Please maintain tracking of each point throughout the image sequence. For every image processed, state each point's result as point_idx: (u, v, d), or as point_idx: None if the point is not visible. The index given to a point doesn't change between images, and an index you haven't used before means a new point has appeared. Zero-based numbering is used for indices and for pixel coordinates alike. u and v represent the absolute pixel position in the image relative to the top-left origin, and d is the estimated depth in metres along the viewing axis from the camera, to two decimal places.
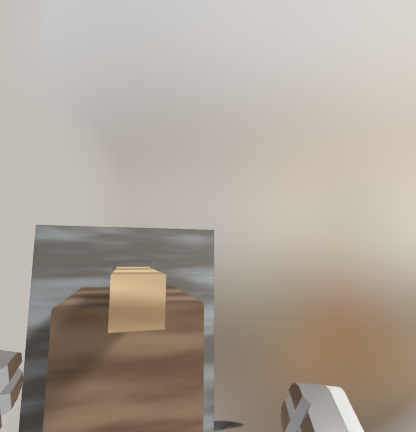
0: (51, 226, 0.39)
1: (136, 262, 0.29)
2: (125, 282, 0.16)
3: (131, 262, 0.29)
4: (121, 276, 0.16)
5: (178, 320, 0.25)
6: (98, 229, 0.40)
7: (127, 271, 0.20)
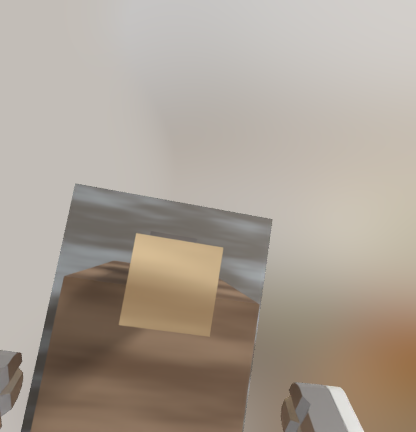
0: (91, 187, 0.35)
1: (177, 237, 0.23)
2: (157, 248, 0.10)
3: (171, 236, 0.23)
4: (152, 238, 0.10)
5: (222, 321, 0.18)
6: (140, 198, 0.35)
7: None
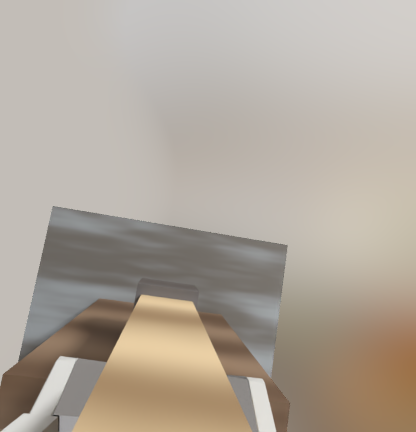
0: (72, 210, 0.29)
1: (173, 291, 0.17)
2: None
3: (165, 290, 0.17)
4: None
5: None
6: (131, 223, 0.30)
7: (147, 352, 0.08)
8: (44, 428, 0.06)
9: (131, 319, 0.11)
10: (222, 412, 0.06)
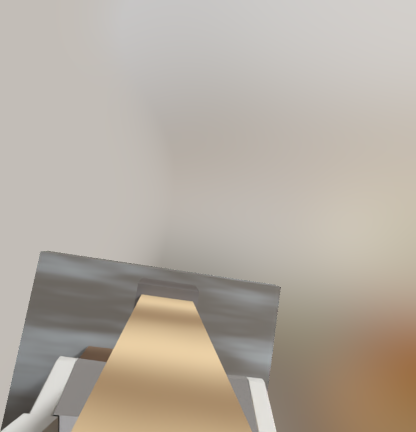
0: (60, 256, 0.28)
1: (174, 291, 0.17)
2: None
3: (166, 290, 0.17)
4: None
5: None
6: (121, 267, 0.29)
7: (147, 352, 0.08)
8: (44, 428, 0.06)
9: (131, 319, 0.11)
10: (222, 412, 0.06)
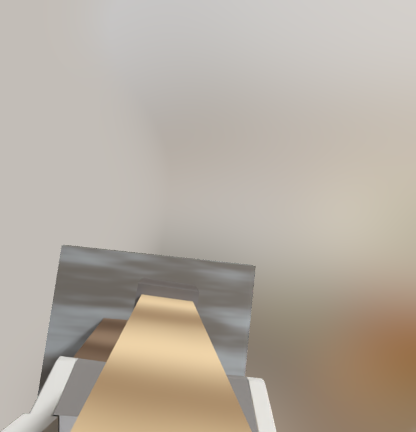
0: (77, 248, 0.36)
1: (174, 291, 0.17)
2: None
3: (166, 290, 0.17)
4: None
5: None
6: (126, 255, 0.36)
7: (146, 352, 0.08)
8: (44, 428, 0.06)
9: (131, 319, 0.11)
10: (221, 411, 0.06)
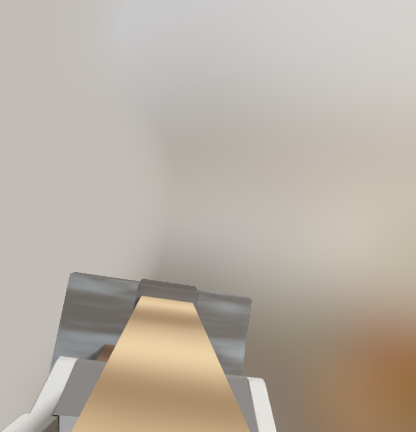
0: (84, 276, 0.38)
1: (174, 292, 0.17)
2: None
3: (166, 291, 0.17)
4: None
5: None
6: (130, 285, 0.39)
7: (146, 354, 0.08)
8: (44, 428, 0.06)
9: (131, 320, 0.11)
10: (221, 413, 0.06)
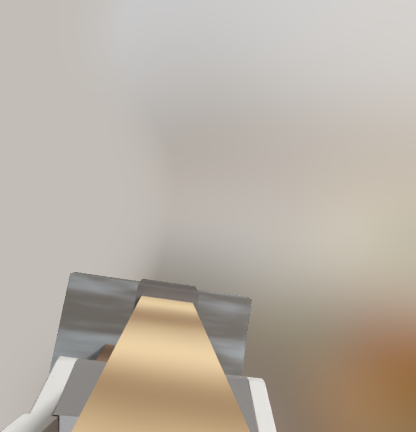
0: (84, 276, 0.38)
1: (174, 292, 0.17)
2: None
3: (166, 291, 0.17)
4: None
5: None
6: (130, 285, 0.39)
7: (146, 354, 0.08)
8: (44, 428, 0.06)
9: (131, 320, 0.11)
10: (221, 413, 0.06)
